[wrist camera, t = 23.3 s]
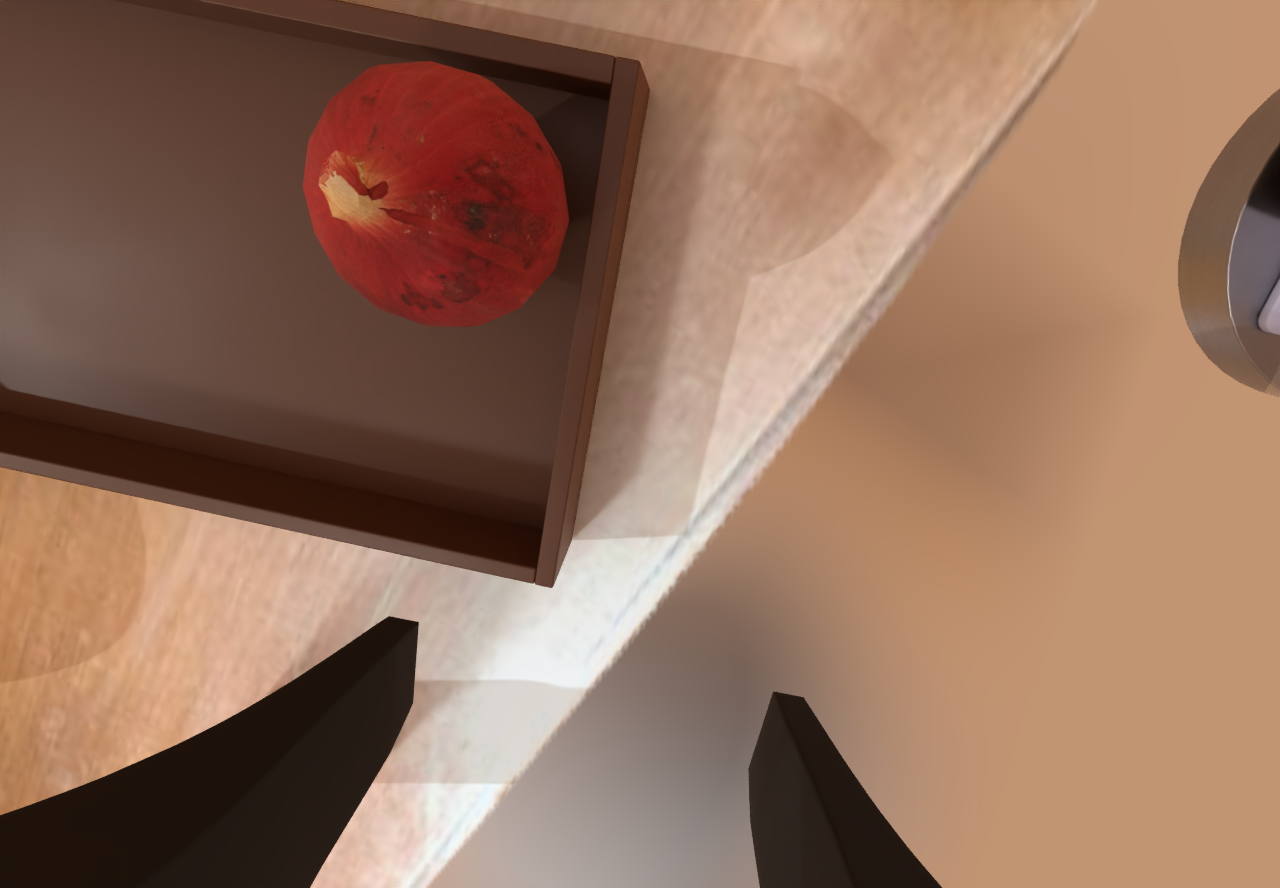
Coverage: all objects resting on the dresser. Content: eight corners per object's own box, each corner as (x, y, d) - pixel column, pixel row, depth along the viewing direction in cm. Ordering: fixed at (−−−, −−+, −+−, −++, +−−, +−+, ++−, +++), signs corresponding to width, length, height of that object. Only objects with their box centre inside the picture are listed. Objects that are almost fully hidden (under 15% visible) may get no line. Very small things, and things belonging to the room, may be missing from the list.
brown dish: (650, 88, 17) (640, 60, 14) (571, 541, 22) (552, 588, 20) (-342, -113, 18) (-545, -178, 15) (-196, 374, 23) (-325, 396, 20)
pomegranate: (615, 137, 17) (549, 71, 10) (561, 332, 19) (472, 402, 12) (417, 68, 17) (196, -53, 10) (383, 271, 19) (179, 303, 12)
